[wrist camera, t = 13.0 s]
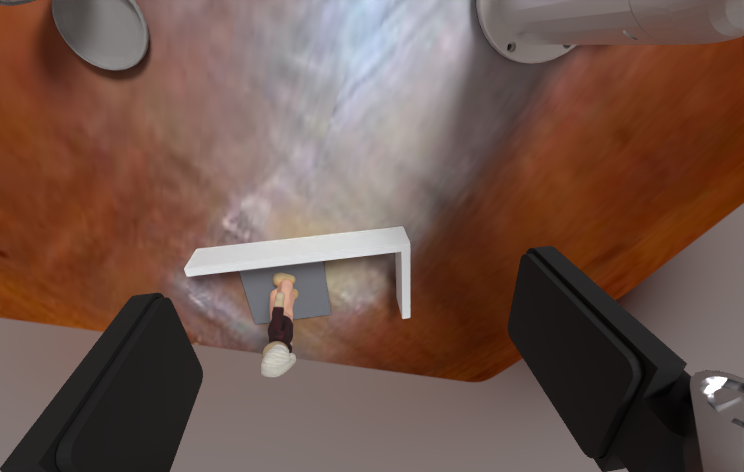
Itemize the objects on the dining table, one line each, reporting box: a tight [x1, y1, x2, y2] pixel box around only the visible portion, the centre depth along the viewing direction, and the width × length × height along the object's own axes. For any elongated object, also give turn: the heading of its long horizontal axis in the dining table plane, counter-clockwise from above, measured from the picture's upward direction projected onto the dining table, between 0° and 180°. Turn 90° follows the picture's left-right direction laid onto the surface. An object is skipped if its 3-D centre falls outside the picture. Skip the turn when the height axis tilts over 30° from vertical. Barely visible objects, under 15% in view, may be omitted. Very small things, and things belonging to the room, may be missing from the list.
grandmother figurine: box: [261, 273, 299, 377], centre depth 37 cm, size 8×4×13 cm, turn 12°
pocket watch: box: [0, 0, 149, 70], centre depth 23 cm, size 8×8×10 cm
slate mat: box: [239, 261, 331, 324], centre depth 43 cm, size 10×10×1 cm
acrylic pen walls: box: [184, 226, 410, 319], centre depth 41 cm, size 24×11×4 cm, turn 93°
